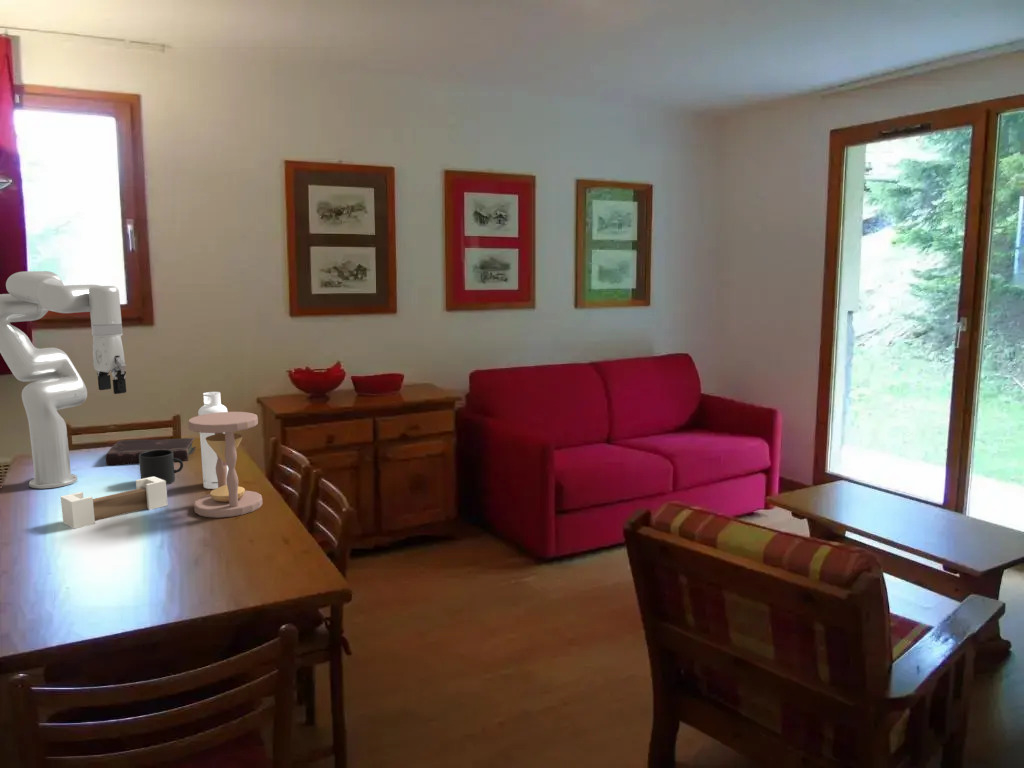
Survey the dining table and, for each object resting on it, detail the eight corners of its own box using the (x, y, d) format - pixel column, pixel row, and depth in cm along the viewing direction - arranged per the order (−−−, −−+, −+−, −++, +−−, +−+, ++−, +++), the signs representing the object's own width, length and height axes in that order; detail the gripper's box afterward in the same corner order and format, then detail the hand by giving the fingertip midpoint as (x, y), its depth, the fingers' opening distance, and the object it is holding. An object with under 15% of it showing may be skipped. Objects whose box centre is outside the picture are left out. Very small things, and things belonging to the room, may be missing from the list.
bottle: (197, 487, 229) (190, 394, 224) (217, 479, 236) (211, 390, 231) (218, 490, 226) (212, 396, 221) (237, 482, 233) (232, 391, 228)
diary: (187, 463, 258) (186, 449, 257) (106, 468, 252) (105, 453, 251) (196, 449, 276) (195, 435, 275) (120, 453, 270) (118, 439, 269)
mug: (184, 483, 232) (182, 454, 231) (140, 488, 228) (137, 458, 226) (184, 475, 241) (182, 447, 239) (142, 479, 236) (139, 451, 235)
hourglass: (195, 501, 215) (189, 414, 211) (260, 494, 221) (256, 409, 217) (193, 521, 199) (186, 427, 195) (264, 513, 205) (259, 421, 201)
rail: (81, 520, 200) (79, 501, 199) (144, 504, 212) (143, 487, 211) (87, 523, 198) (85, 504, 197) (150, 507, 210) (149, 489, 209)
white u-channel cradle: (63, 522, 198) (60, 496, 197) (155, 500, 216) (153, 476, 215) (74, 528, 194) (71, 501, 192) (167, 505, 212) (165, 480, 211)
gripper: (80, 329, 216) (85, 389, 219) (106, 333, 205) (111, 396, 208) (107, 328, 222) (113, 386, 224) (134, 331, 211) (139, 393, 213)
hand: (112, 391), depth 216 cm, fingers open, 9 cm apart
